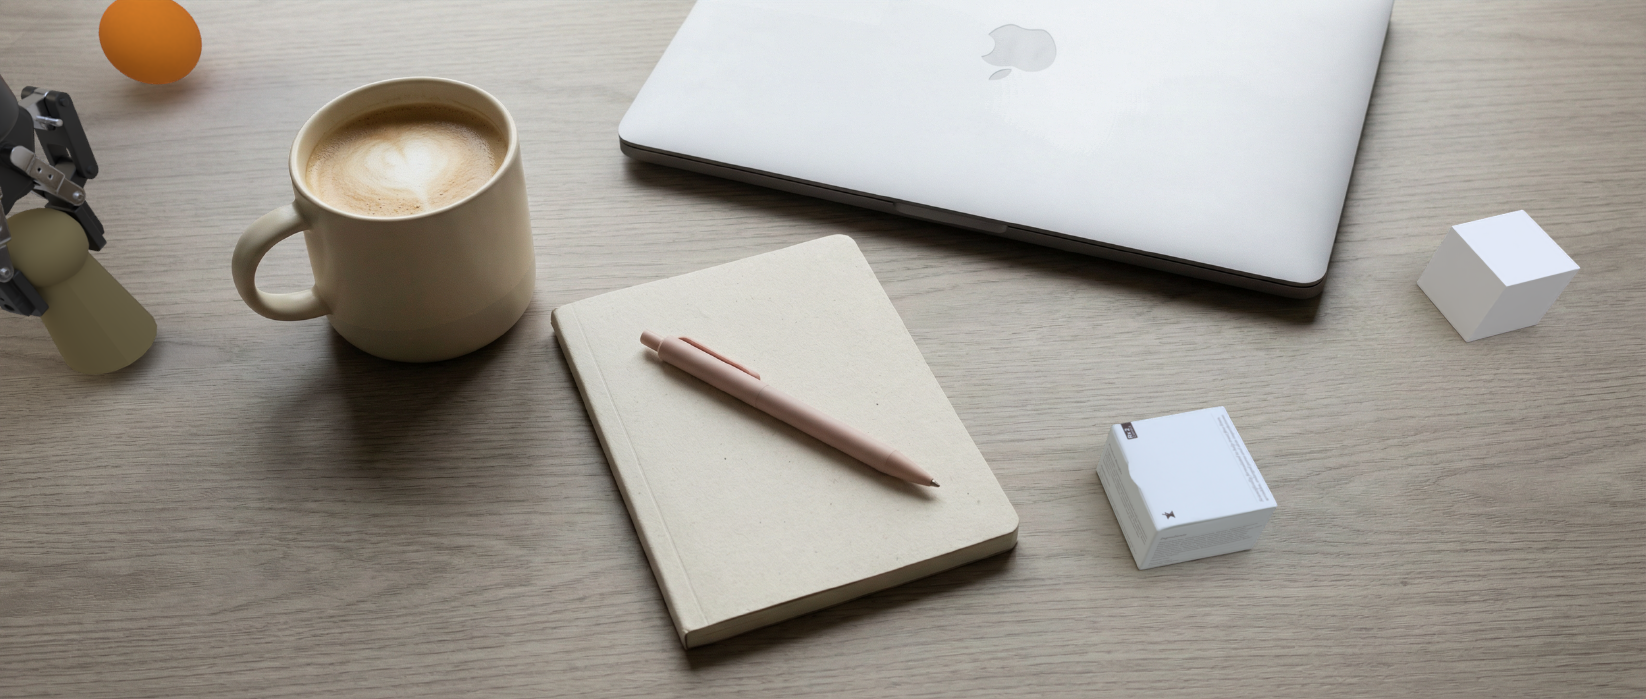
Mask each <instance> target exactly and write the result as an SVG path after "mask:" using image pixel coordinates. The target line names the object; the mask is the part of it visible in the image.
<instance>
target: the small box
mask: <svg viewBox="0 0 1646 699" xmlns="http://www.w3.org/2000/svg"><path fill="white" fill-rule="evenodd" d="M1233 422H1234V421H1232V419H1231V417H1230V415H1229V413H1228V411H1227V408H1226V407H1225V406H1223V405H1221V406H1220V405H1219V406H1213V407H1207V408H1201V409H1195V410H1190V411H1185V412H1179V413H1173V414H1167V415H1162V416H1157V417H1150V418H1145V419H1139V420H1133V421H1127V422H1122V423H1115V424H1112V425H1111V426H1110V428H1109V431H1108V433H1107V437H1106V439H1105V443H1104V446H1103V448H1102V451H1101V454H1100V457H1099V459H1098V463H1097V465H1096V469H1095V471H1096V473H1097V475H1098V478H1099V480H1100V482H1101V485H1102V487H1103V490H1104V491H1105V494H1106V496H1107V499H1108V502H1109V503H1110V506H1111V508H1112V511H1113V514H1114V515H1115V517H1116V519H1117V520H1116V521H1117V522H1118V524H1119V527H1120V529H1121V532H1122V534H1123V537H1124V538H1125V541H1126V543H1127V546H1128V548H1129V550H1130V552H1131V555H1132V557H1133V559H1134V561H1135V564H1136V566H1137V569H1138V570H1139V571H1142V570H1149V569H1153V568H1159V567H1165V566H1168V565H1169V566H1170V565H1174V564H1180V563H1185V562H1189V561H1194V560H1199V559H1207V558H1211V557H1216V556H1222V555H1227V554H1232V553H1237V552H1243V551H1248V550H1251V549H1253V548H1254V547H1255V545H1256V543H1257V541H1258V540H1259V538H1260V536H1261V534H1262V533H1263V531H1264V530H1265V527H1266V526H1267V525H1268V522H1269V521H1270V519H1271V517H1272V516H1273V514H1274V513H1275V511H1276V510H1277V507H1278V506H1279V505H1278V503H1277V501H1276V499H1275V496H1274V495H1273V493H1272V492H1271V490H1270V488H1269V485H1268V484H1267V482H1266V480H1265V479H1264V476H1263V474H1262V473H1261V471H1260V470H1259V467H1258V466H1257V464H1256V462H1255V461H1254V459H1253V457H1252V455H1251V453H1250V451H1249V450H1248V448H1247V446H1246V444H1245V442H1244V440H1243V439H1242V437H1241V435H1240V433H1239V432H1238V430H1237V428H1236V426H1235V424H1234V423H1233Z"/></svg>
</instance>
